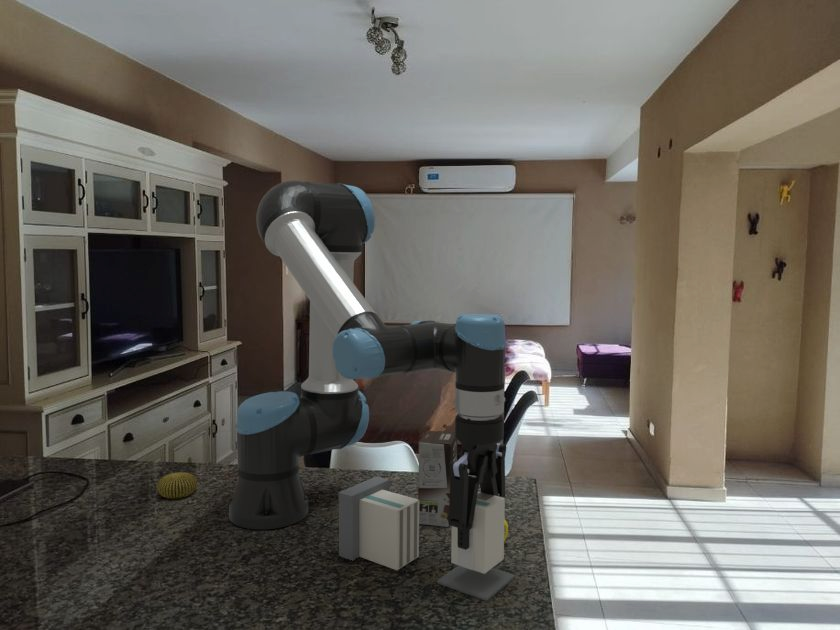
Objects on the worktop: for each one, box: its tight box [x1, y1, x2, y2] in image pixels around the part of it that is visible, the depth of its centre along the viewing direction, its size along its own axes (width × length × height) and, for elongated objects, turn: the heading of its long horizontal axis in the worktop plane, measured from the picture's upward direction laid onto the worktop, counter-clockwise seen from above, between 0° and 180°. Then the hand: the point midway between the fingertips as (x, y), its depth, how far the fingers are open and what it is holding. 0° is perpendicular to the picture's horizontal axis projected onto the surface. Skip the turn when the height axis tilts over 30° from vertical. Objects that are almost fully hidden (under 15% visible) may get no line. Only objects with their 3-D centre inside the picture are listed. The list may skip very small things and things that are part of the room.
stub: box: [450, 490, 506, 574], centre depth 104 cm, size 6×6×10 cm
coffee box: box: [417, 430, 458, 528], centre depth 129 cm, size 9×6×16 cm
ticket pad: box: [337, 475, 420, 571], centre depth 113 cm, size 12×10×11 cm
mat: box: [436, 565, 516, 602], centre depth 105 cm, size 9×9×1 cm
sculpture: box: [156, 471, 198, 499], centre depth 140 cm, size 8×4×8 cm
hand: (477, 558), depth 104 cm, fingers closed on stub, 6 cm apart
